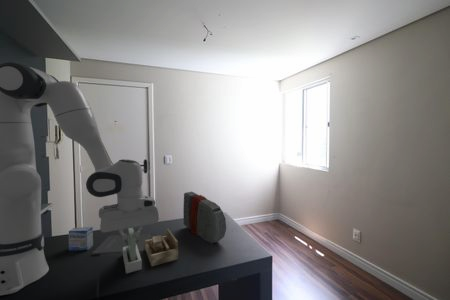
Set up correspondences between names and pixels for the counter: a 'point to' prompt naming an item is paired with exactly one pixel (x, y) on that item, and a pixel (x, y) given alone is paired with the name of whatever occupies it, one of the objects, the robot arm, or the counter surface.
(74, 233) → the medicine box
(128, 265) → the holder
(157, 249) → the offcut walnut
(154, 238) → the offcut pine
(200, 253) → the counter surface
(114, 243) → the play button award
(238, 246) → the counter surface
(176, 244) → the rack
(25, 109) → the robot arm
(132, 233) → the block
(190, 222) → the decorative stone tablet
